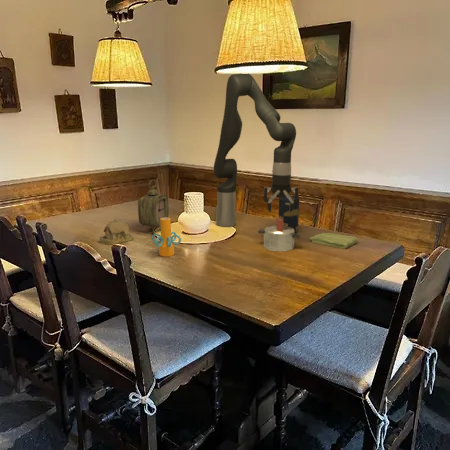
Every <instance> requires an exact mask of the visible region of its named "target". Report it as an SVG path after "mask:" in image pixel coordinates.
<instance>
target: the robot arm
mask: <svg viewBox="0 0 450 450" xmlns="http://www.w3.org/2000/svg"><path fill="white" fill-rule="evenodd" d="M244 96H248V97H250V98H251V100H253V102H254V110H255V113H256V115H257V117H258V118H259V120H261V122H262V123H263V124H264V125H265V127H266V130H267V132H268V134H269V137H271V139H272V140H273V141H276V142H280V144H279V146H277V147H275V148H274V149H273V164H272V170H271V171H272V175H271V177H272V179H271V187H268V186H266V185H265V186H264V187H263V188H264V189H263V199H262V201H263V202H265V203H267V207H266V208H267V211H268V212H269V213H271V212H272V201H273V200H275V199H276V198H278V199H279V198H280V197H281V198H285V197H287V198H288V199H289V201H290V205H289V212H292V211H293V204H294V203H295V202H298V198H299V187H298V186H295V187H292V186H291V180H292V179H291V177H292V150H293V149H294V144H295V140H296V137H297V129H296V126H295V125H294V124H293V123H291V122H280V121H281V115H280V112H278V111H277V109H275V108H274V106H273V105H272V104H271V103H270V101H269V100H268V99H267V97H266V96H265V95H264V92H263V90H262V89H261V87H260V86H259V84H258V82H257V81H256V79H255V78H254V77H253V75H251V74H250V73H248V74H242V73H234V74H231V75H230V76H229V77H228V78H227V82H226V89H225V105H224V112H223V118H222V123H221V128H220V136H219V143H218V148H217V151H216V156H215V159H214V164H213V175H214V176H215V178H217V179H226V180H225V181H224V182H222V183H220V184H218V185H217V187H216V192H217V193H216V195H217V196H216V197H217V198H216V199H217V202H216V203H217V205H216V206H215V225H216V226H218V227H222V228H223V227H226V228H229V227H230V228H231V227H235V226H236V224H237V223H236V212H237V211H236V208H237V206H236V203H237V201H236V198H237V197H236V195H237V194H236V193H237V179H238V164H237V161H236V159H235V158H227V155H228V154H229V152H230V151H231V149H233V148H234V147H235V146H236V144H237V143H238V141H239V140H240V138H241V135H242V130H243V122H242V118H241V116H240V113H239V111H238V101H239V98H240V97H244ZM270 191H271V193H272V194H271V195H270V196H269V198H268V193H269V192H270ZM291 192H292V193H294V196H295V199H292V198H291V197H290V193H291Z"/></svg>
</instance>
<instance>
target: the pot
mask: <svg viewBox="0 0 450 450" xmlns="http://www.w3.org/2000/svg"><path fill="white" fill-rule="evenodd" d="M257 233H258V234H263V247H264V249H266V250H269V251H271V252H273V251H274V252H288V251H292V250H293V249H294V248H295V239H300V238H301V237H302V234H301V233H296V232H295V231H294V233H293V234H290V235H283V236H279V235H271V234H267V233H266V232H265V228H264V229H263V228H260V229H258V231H257Z"/></svg>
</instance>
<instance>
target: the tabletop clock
mask: <svg viewBox="0 0 450 450" xmlns="http://www.w3.org/2000/svg"><path fill="white" fill-rule="evenodd" d="M152 182H154V183H155V185H151V183H152ZM156 187H157V181H156V180H155V179H151V180H149V182H148V188H149V190H148V192H147V193H146V194H145V195H143V196H142V197H140V198H138V201H137V213H138V214H137V215H138V216H137V217H138V221H139V222H138V223H139V224H140V225H141V226H146V227H149V228H148V231H149V232H151V233H152V235H154V234H157V233H156V231H155V227H156V228H158V227H161V223H160V219H161V218H169V197H168V195H167V194H164V193H163V194H162V193H160V192H159V191H158V190H157V189H155V188H156Z"/></svg>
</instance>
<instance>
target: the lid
mask: <svg viewBox="0 0 450 450" xmlns="http://www.w3.org/2000/svg"><path fill="white" fill-rule="evenodd" d="M275 220H276V222H275V225H270V226H266V227H265V228H264V230H265V232H266V233H267V234H271V235H279V236H283V235H290V234H293V233H294V229H293V228H291V227H287V226H283V220H282V218H279V217H276V219H275Z"/></svg>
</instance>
